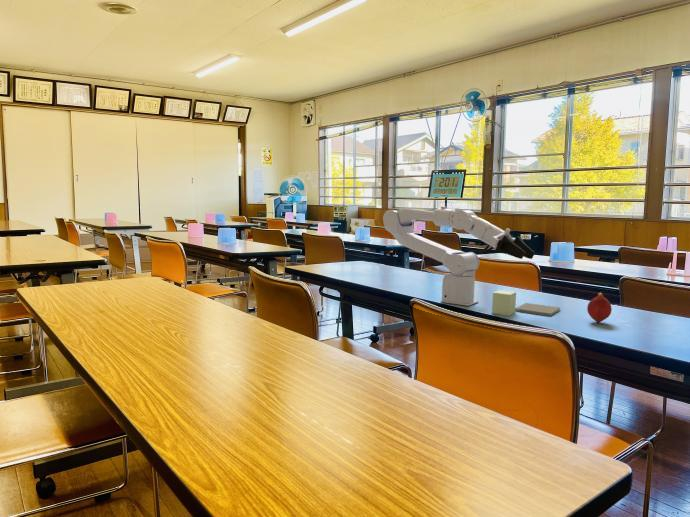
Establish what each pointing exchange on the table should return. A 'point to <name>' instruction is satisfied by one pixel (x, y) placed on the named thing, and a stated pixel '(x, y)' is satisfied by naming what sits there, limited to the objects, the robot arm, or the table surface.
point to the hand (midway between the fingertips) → (528, 255)
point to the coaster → (537, 309)
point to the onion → (599, 308)
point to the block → (504, 302)
